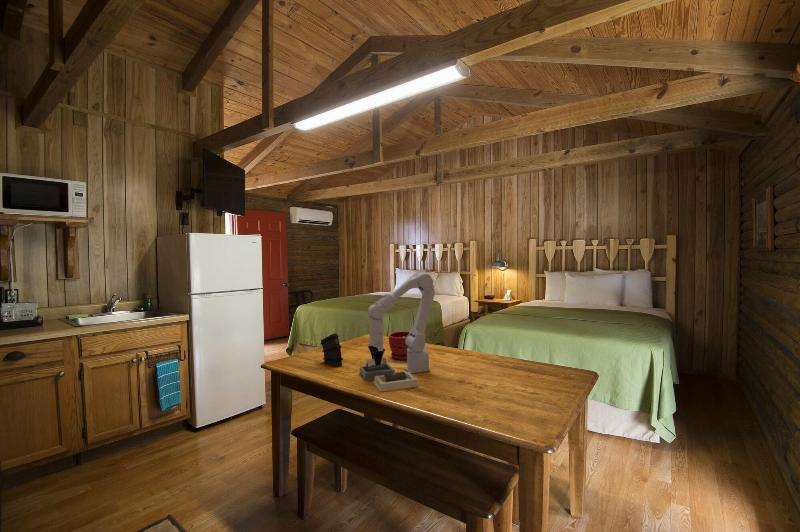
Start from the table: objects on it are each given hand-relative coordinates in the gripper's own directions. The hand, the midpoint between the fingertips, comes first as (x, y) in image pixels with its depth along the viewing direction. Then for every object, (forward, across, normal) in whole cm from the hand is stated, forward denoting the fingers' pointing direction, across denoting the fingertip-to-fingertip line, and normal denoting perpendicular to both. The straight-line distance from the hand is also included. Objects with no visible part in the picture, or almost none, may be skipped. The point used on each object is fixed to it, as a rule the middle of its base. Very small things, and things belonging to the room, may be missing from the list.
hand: (376, 363), depth 168 cm
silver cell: (+1, -1, 0) cm, 2 cm away
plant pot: (+6, -21, +19) cm, 29 cm away
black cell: (+4, +14, +4) cm, 15 cm away
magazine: (+6, -24, -16) cm, 29 cm away
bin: (+5, 0, 0) cm, 5 cm away
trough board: (+5, +14, +4) cm, 15 cm away
